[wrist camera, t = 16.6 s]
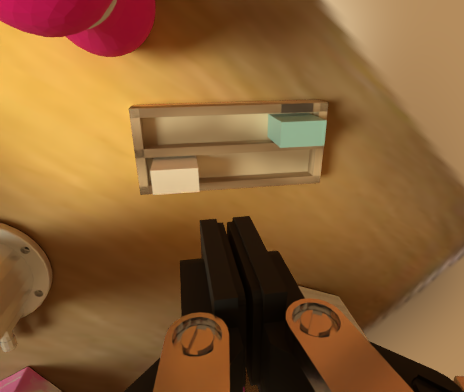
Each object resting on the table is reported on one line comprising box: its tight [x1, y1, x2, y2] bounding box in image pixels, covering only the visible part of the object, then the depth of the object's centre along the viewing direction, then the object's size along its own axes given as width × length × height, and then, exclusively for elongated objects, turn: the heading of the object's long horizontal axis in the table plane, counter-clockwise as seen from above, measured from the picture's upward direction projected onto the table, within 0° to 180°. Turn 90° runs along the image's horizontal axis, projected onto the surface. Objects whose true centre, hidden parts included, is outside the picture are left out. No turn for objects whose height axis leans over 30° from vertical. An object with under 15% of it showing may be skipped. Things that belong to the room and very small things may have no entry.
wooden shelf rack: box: [129, 100, 328, 195], centre depth 31 cm, size 8×18×3 cm, turn 91°
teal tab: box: [268, 113, 327, 148], centre depth 29 cm, size 2×4×4 cm, turn 91°
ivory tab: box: [150, 155, 199, 195], centre depth 29 cm, size 2×4×4 cm, turn 90°
